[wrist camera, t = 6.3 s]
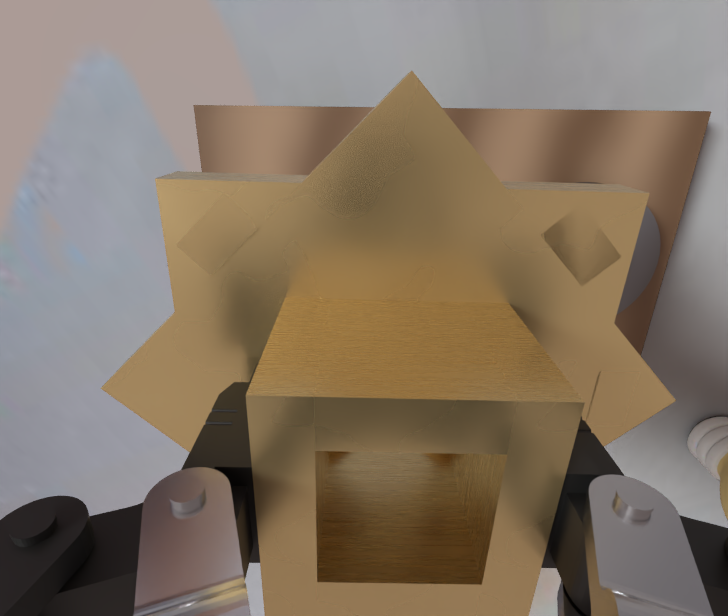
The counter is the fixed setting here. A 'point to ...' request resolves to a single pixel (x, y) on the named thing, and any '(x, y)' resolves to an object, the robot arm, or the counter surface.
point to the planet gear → (398, 359)
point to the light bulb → (713, 451)
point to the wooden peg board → (502, 163)
